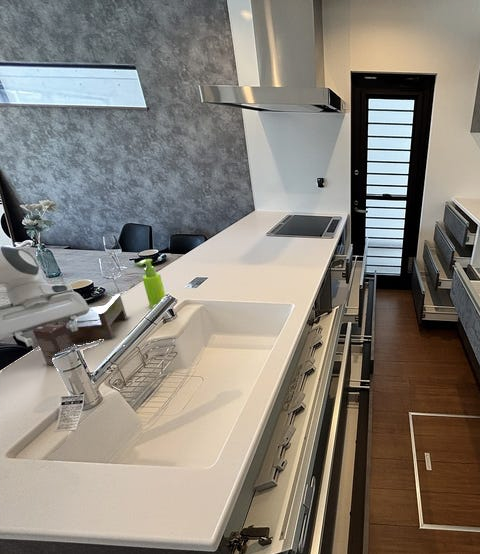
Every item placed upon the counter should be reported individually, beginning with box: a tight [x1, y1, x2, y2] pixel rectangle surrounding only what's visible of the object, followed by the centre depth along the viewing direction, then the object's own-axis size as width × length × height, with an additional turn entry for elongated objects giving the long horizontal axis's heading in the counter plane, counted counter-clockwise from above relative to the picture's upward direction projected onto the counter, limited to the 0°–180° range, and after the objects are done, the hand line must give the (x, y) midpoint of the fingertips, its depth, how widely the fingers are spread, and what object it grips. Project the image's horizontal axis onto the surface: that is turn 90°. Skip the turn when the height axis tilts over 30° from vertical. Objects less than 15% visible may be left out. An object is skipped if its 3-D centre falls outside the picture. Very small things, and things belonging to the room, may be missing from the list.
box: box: [32, 323, 75, 366], centre depth 90 cm, size 6×4×12 cm
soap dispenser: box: [136, 258, 166, 309], centre depth 121 cm, size 6×7×20 cm
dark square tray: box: [65, 294, 128, 345], centre depth 105 cm, size 12×14×10 cm
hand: (53, 337), depth 89 cm, fingers open, 8 cm apart
